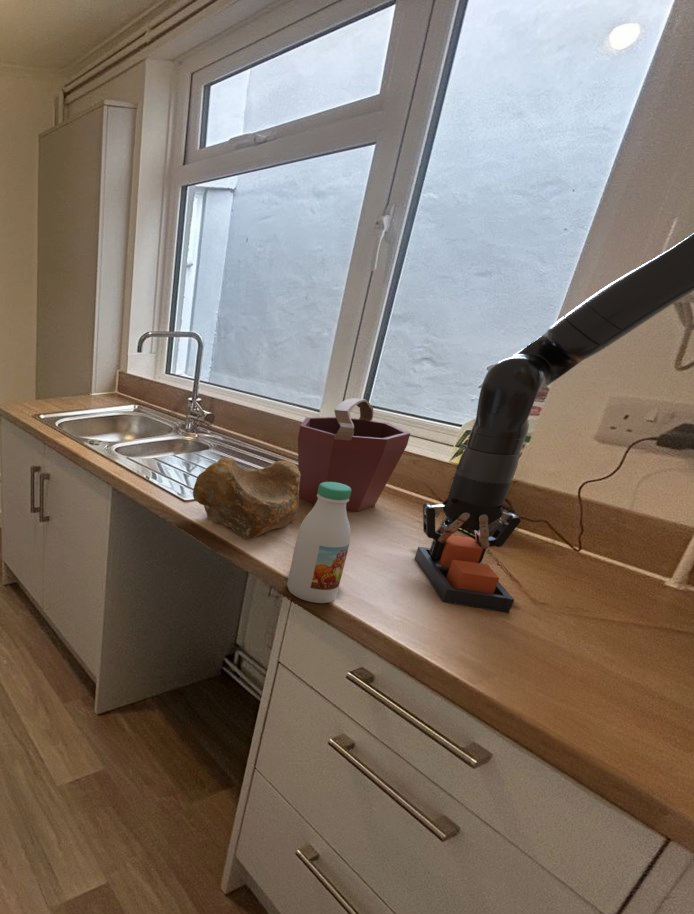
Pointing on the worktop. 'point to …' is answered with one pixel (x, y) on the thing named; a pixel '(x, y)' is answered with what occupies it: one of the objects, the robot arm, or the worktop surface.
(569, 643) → the worktop surface
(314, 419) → the bucket
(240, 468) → the rough brown rock
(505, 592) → the frame
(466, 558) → the orange block
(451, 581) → the orange square block
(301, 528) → the milk bottle
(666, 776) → the worktop surface
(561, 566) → the worktop surface
